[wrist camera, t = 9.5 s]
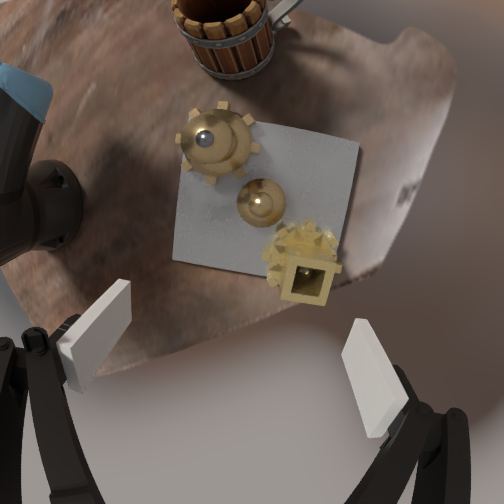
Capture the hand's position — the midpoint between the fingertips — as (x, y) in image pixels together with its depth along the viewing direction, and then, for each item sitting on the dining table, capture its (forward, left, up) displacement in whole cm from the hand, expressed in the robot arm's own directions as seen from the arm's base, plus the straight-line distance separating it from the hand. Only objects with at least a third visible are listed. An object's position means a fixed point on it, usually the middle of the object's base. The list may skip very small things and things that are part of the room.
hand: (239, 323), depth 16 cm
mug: (-5, +26, -25) cm, 36 cm away
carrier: (0, +4, -24) cm, 25 cm away
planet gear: (+6, -3, -23) cm, 24 cm away
